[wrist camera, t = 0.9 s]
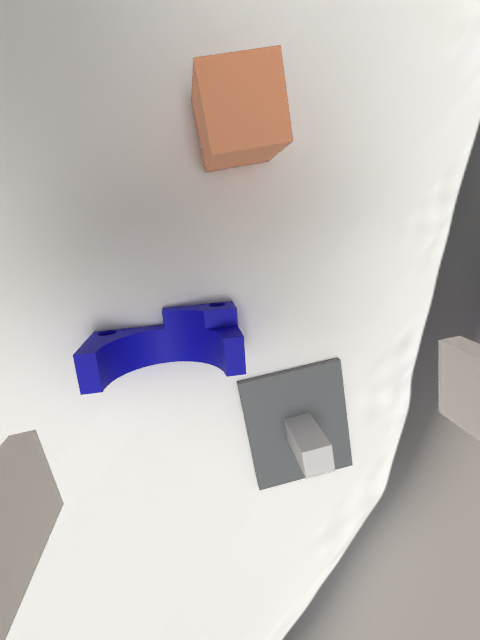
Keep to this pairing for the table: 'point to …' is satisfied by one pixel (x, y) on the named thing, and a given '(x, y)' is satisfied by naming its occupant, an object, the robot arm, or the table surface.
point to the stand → (296, 422)
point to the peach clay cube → (240, 107)
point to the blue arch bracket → (164, 345)
